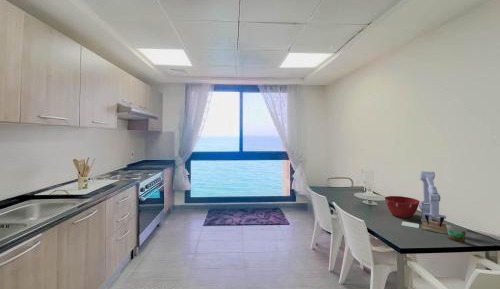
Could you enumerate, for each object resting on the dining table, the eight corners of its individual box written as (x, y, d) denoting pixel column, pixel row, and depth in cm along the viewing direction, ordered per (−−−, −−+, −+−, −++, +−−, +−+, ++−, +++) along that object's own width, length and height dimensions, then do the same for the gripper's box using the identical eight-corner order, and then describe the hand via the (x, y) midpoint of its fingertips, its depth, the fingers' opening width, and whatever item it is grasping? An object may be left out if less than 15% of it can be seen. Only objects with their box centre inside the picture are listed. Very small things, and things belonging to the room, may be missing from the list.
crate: (422, 224, 208) (422, 220, 208) (449, 229, 198) (449, 224, 197) (421, 229, 197) (421, 224, 197) (451, 234, 187) (451, 229, 187)
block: (430, 227, 201) (430, 221, 201) (437, 228, 199) (437, 222, 198) (430, 229, 197) (430, 222, 197) (437, 230, 195) (437, 223, 195)
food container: (441, 237, 181) (442, 223, 181) (447, 236, 183) (447, 222, 183) (461, 244, 169) (461, 229, 169) (466, 242, 171) (467, 228, 171)
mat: (402, 221, 216) (402, 221, 216) (419, 224, 209) (419, 224, 209) (401, 225, 206) (401, 225, 206) (418, 228, 199) (418, 228, 199)
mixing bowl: (418, 222, 214) (419, 204, 214) (381, 216, 232) (382, 199, 231) (420, 214, 237) (420, 198, 237) (386, 209, 254) (387, 194, 254)
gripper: (423, 208, 199) (423, 225, 199) (446, 211, 190) (446, 229, 190) (423, 206, 204) (423, 223, 205) (445, 209, 196) (445, 226, 196)
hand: (434, 225), depth 198 cm, fingers open, 7 cm apart
